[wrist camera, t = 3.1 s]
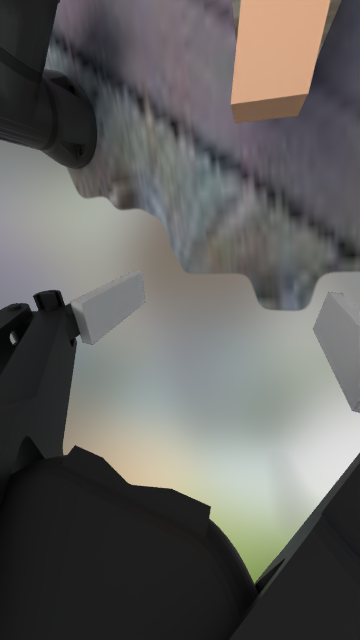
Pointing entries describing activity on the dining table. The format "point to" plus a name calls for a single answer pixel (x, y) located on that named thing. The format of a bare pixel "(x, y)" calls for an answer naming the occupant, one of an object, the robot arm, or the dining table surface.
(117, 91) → the dining table surface
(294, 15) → the lever bar
